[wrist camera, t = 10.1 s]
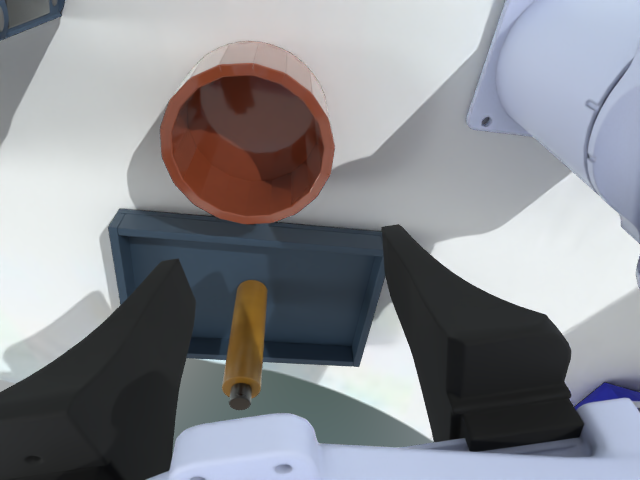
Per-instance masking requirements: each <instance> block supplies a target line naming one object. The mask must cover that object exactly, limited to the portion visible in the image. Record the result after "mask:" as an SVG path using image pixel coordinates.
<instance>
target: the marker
mask: <svg viewBox="0 0 640 480" xmlns="http://www.w3.org/2000/svg"><path fill="white" fill-rule="evenodd" d="M266 307H267V288H266V286H265V285H264V284H263V283H261V282H259V281H257V280H247V281H244V282H242V283H241V284H240V285H239V286H238V288H237V293H236V299H235V306H234V312H233V319H232V326H231V332H230V339H229V345H228V352H227V358H226V365H225V371H224V378H223V384H222V390H223V392H224V393H225V395H227V396H228V397H230V398H229V405H230V407H231V408H233V409H236V410H245V409H247V408H248V407H249V406H250V405H251V399H252V398H254V397H256V396H257V395H258V394H259V392H260V390H261V379H262V364H263V350H264V336H265V321H266Z"/></svg>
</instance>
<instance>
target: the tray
mask: <svg viewBox="0 0 640 480" xmlns="http://www.w3.org/2000/svg"><path fill="white" fill-rule="evenodd" d="M108 230H109V236H110V242H111V248H112V255H113V261H114V267H115V273H116V279H117V286H118V292H119V298H120V304H122V303H123V302H124V301H125V300H126V299H127V298H128V297H129V296H130V295H131V294H132V293H133V292H134V291H135V290H136V289H137V287H138V286H139V285H140V284H141V283H142V282H143V281H144V280H145V279H146V277H147V276H148V275H149V274H150V273H151V272H152V271H153V270H154V268H155V267H156V266H157V265H158V264H159V263H160V262H161V261H165V260H171V259H178V258H179V261H180V263H181V265H182V268H183V270H184V273H185V275H186V278H187V280H188V283H189V285H190V287H191V290H192V292H193V295H194V297H195V300H196V308H195V320H194V327H193V332H192V336H191V341H190V345H189V349H188V353H187V357H186V358H196V359H216V360H226V358H227V352H228V345H229V339H230V332H231V326H232V319H233V312H234V306H235V299H236V293H237V288H238V286H239V285H240V284H241V283H242V282H244V281H247V280H257V281H259V282H261V283H263V284H264V285H265V286H266V288H267V307H266V321H265V336H264V350H263V362H275V363H295V364H314V365H334V366H354V367H359V366H360V362H361V359H362V355H363V352H364V348H365V345H366V341H367V338H368V334H369V331H370V327H371V324H372V320H373V317H374V313H375V310H376V306H377V303H378V299H379V296H380V292H381V289H382V286H383V282H384V279H385V270H384V255H383V241H382V232H380V231H368V230H357V229H346V228H334V227H323V226H312V225H300V224H289V223H277V222H273V223H263V224H241V223H236V222H232V221H228V220H224V219H219V218H217V217H209V216H198V215H187V214H175V213H164V212H153V211H141V210H130V209H119V210H118V212H117V214H116V215H115V217H114V219H113V220H112V222H111V223H110V225H109V227H108Z"/></svg>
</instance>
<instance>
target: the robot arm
mask: <svg viewBox="0 0 640 480" xmlns="http://www.w3.org/2000/svg"><path fill="white" fill-rule="evenodd" d="M486 117H489V121H488V122H487V123H486V124H482V121H483V119H484V118H486ZM466 122H467V125H468V126H469V127H470V128H471V129H474V130H480V131H489V132H497V133H506V134H514V135H522V136H531V137H534V138H535V139H536V140H537V141H538V142H540V143H541V144H542V145H543V146H544V147H545V148H546V149H547V150H549V151H550V152H551V153H552V154H553V155H554V156H555V157H556V158H558V159H559V160H560V161H561V162H562V163H563V164H564V165H565V166H567V167H568V168H569V169H570V170H571V171H572V172H573V173H574V174H576V175H577V176H578V177H579V178H580V179H581V180H582V181H583V182H585V183H586V184H587V185H588V186H589V187H590V188H591V189H592V190H594V191H595V192H596V193H597V194H598V195H599V196H600V197H601V198H602V199H603V200H604V201H605V202H606V203H608V204H609V205H610V206H611V207H612V208H613V209H614V210H616V211H617V212H618V213H619V215H620V218H621V227H622V228H623V229H624V230H625V231H626V232H627V233H628V234H630V235H631V236H632V237H633V238H634V239H635V240H636V241H637V242H638V243H639V244H640V0H506V1H505V4H504V7H503V10H502V13H501V16H500V19H499V22H498V25H497V28H496V31H495V34H494V37H493V40H492V43H491V46H490V49H489V52H488V55H487V58H486V61H485V64H484V67H483V70H482V73H481V76H480V79H479V82H478V85H477V88H476V91H475V94H474V97H473V100H472V103H471V106H470V109H469V112H468V115H467V118H466ZM382 241H383V255H384V270H385V276H386V280H387V284H388V288H389V292H390V296H391V299H392V302H393V304H394V307H395V310H396V312H397V315H398V318H399V320H400V323H401V325H402V328H403V331H404V333H405V336H406V339H407V341H408V344H409V346H410V349H411V352H412V356H413V359H414V363H415V367H416V370H417V374H418V378H419V382H420V386H421V390H422V394H423V398H424V402H425V406H426V410H427V414H428V418H429V422H430V426H431V430H432V435H433V439H434V442H433V443H426V444H419V445H413V446H406V447H399V448H396V447H378V446H360V445H342V444H324V443H318V441H317V439H316V435H315V431H314V428H313V427H312V426H311V424H310V423H309V422H308V421H307V420H306V419H305V418H302V417H300V416H297V415H294V414H292V413H273V414H266V415H259V416H252V417H245V418H238V419H232V420H224V421H217V422H211V423H204V424H199V425H197V426H193V427H190V428H187V429H185V430H184V431H183V432H182V433H181V434H180V435H179V436H178V437H177V439H176V442H175V446H174V451H173V456H172V449H173V436H174V427H175V416H176V409H177V401H178V392H179V387H180V382H181V377H182V373H183V369H184V365H185V361H186V357H187V353H188V349H189V345H190V341H191V336H192V332H193V327H194V320H195V308H196V300H195V297H194V295H193V292H192V290H191V287H190V285H189V283H188V280H187V278H186V275H185V273H184V270H183V268H182V265H181V263H180V261H179V258H178V259H171V260H165V261H161V262H160V263H159V264H158V265H157V266H156V267H155V268H154V270H153V271H152V272H151V273H150V274H149V275H148V276H147V277H146V279H145V280H144V281H143V282H142V283H141V284H140V285H139V286H138V287H137V289H136V290H135V291H134V292H133V293H132V294H131V295H130V296H129V297H128V298H127V299H126V300H125V301H124V302H123V303H122V304H121V305H120V306H119V307H118V308H117V309H116V310H115V311H114V312H113V313H112V314H111V315H110V316H109V317H108V318H107V319H106V320H105V321H104V322H103V323H102V324H101V325H100V326H99V327H97V328H96V329H95V330H94V331H93V332H92V333H90V334H89V335H88V336H87V337H86V338H84V339H83V340H82V341H81V342H79V343H78V344H76V345H75V346H74V347H72V348H71V349H70V350H68V351H67V352H66V353H64V354H63V355H61V356H60V357H59V358H57V359H56V360H54V361H53V362H51V363H50V364H48V365H47V366H45V367H44V368H42V369H40V370H39V371H37V372H35V373H34V374H32V375H31V376H29V377H27V378H25V379H24V380H22V381H20V382H18V383H16V384H15V385H13V386H11V387H9V388H7V389H6V390H4V391H2V392H0V480H640V412H639V411H638V409H637V408H636V406H635V405H634V404H633V402H632V401H631V400H630V399H629V398H619V399H612V400H605V401H598V402H591V403H587V404H584V405H582V406H580V407H579V408H578V409H577V410H575V408H574V406H573V405H572V403H571V401H570V400H569V398H570V397H571V393H570V390H569V389H568V387H567V386H566V384H565V382H564V380H565V377H566V373H567V370H568V366H569V363H570V359H571V349H570V346H569V344H568V342H567V341H566V339H565V338H564V336H563V335H562V333H561V332H560V331H559V330H558V328H557V327H556V326H555V325H554V324H553V322H552V321H551V320H550V319H549V318H548V317H547V315H545V314H542V313H539V312H535V311H532V310H529V309H526V308H523V307H520V306H517V305H515V304H512V303H510V302H507V301H505V300H502V299H500V298H498V297H495V296H493V295H491V294H489V293H487V292H485V291H483V290H481V289H479V288H477V287H475V286H474V285H472V284H470V283H468V282H467V281H465V280H463V279H462V278H460V277H459V276H457V275H456V274H454V273H453V272H451V271H450V270H449V269H447V268H446V267H445V266H443V265H442V264H441V263H440V262H438V261H437V260H436V259H435V258H433V257H432V256H431V255H430V254H429V253H428V252H427V251H426V250H424V249H423V248H422V247H421V246H420V245H419V244H418V243H417V242H416V241H415V240H414V239H413V238H412V237H411V236H410V235H409V234H408V233H407V232H406V231H405V229H404V228H403V227H402V226H400V225H399V224H398V225H392V226H385V227H382ZM636 278H637V284H638V287H639V289H640V256H639V260H638V263H637V269H636Z"/></svg>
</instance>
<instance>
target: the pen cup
mask: <svg viewBox="0 0 640 480" xmlns="http://www.w3.org/2000/svg"><path fill="white" fill-rule="evenodd" d="M160 141H161V155H162V159H163V161H164V163H165V166H166V168H167V170H168V172H169V174H170V176H171V179H172V181H173V183H174V184H175V185H176V186H177V187H178V188H179V190H180V191H181V192H182V193H183V194H184V195H185V196H186V197H187V198H188V199H189V200H190V201H191V202H192V203H193V204H194V205H196V206H197V207H199V208H201V209H203V210H204V211H206V212H208V213H210V214H211V215H213V216H215V217H217V218H219V219H224V220H228V221H232V222H236V223H241V224H263V223H273V222H276V221H279V220H281V219H284V218H287V217H289V216H292V215H295V214H296V213H298V212H299V211H301V210H302V209H303V208H304V207H306V206H307V205H308V204H309V203H310V202H312V201H313V200H314V199H315V198H316V197H317V196H318V195H319V193H320V191H321V190H322V188H323V186H324V185H325V183H326V181H327V180H328V178H329V176H330V174H331V169H332V163H333V157H334V151H335V145H334V139H333V134H332V129H331V123H330V118H329V113H328V108H327V103H326V99H325V94H324V92H323V90H322V88H321V86H320V84H319V82H318V80H317V79H316V77H315V76H314V74H313V73H312V72H311V70H310V69H309V68H308V67H307V66H306V65H305V64H304V63H303V62H302V61H301V60H300V59H298V58H297V57H296V56H294V55H293V54H291V53H290V52H288V51H286V50H284V49H282V48H280V47H277V46H274V45H271V44H268V43H263V42H255V41H243V42H235V43H231V44H227V45H224V46H222V47H219V48H217V49H215V50H213V51H212V52H210V53H208V54H207V55H206V56H205V57H203V58H202V59H201V60H200V61H199V62H198V63H197V64H196V65H195V66H194V68H193V69H192V70H191V71H190V72H189V73H188V75H187V76H186V77H185V79H184V80H183V82H182V83H181V84H180V86H179V87H178V89H177V90H176V92H175V93H174V94H173V96H172V97H171V99H170V100H169V102H168V105H167V108H166V111H165V114H164V117H163V120H162V123H161V126H160Z"/></svg>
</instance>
